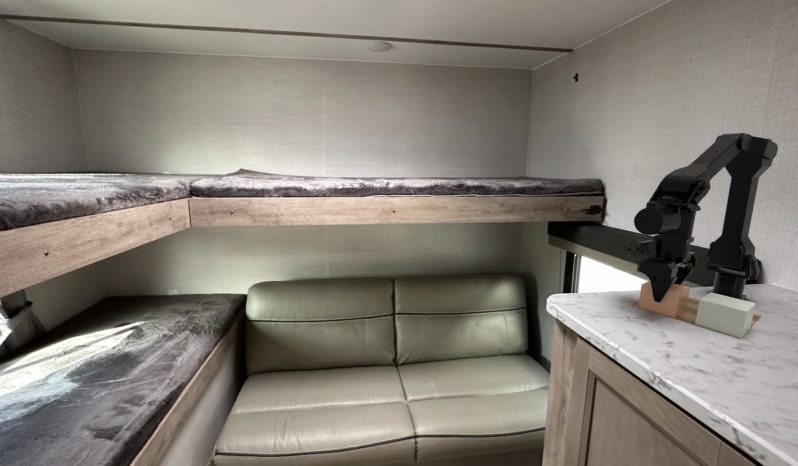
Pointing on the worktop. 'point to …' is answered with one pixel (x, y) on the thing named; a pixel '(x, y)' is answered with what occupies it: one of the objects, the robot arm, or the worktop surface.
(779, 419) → the worktop surface
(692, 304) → the walnut board
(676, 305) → the salmon foam cube
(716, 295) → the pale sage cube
